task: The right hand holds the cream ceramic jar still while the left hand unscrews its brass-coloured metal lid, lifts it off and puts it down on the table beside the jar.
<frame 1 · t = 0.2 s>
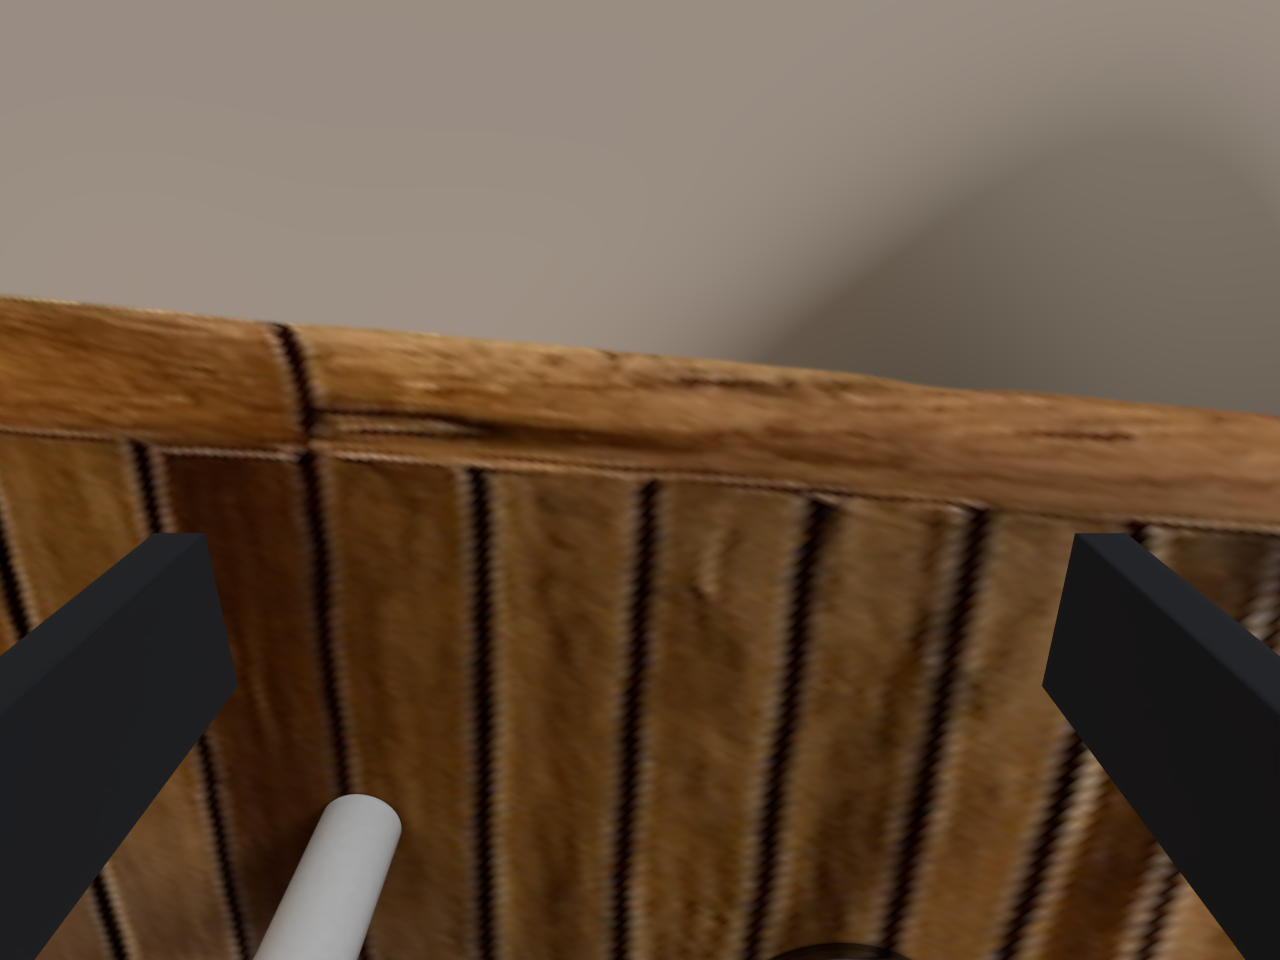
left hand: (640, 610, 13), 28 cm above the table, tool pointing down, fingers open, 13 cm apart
jar: (361, 824, 51), on the table
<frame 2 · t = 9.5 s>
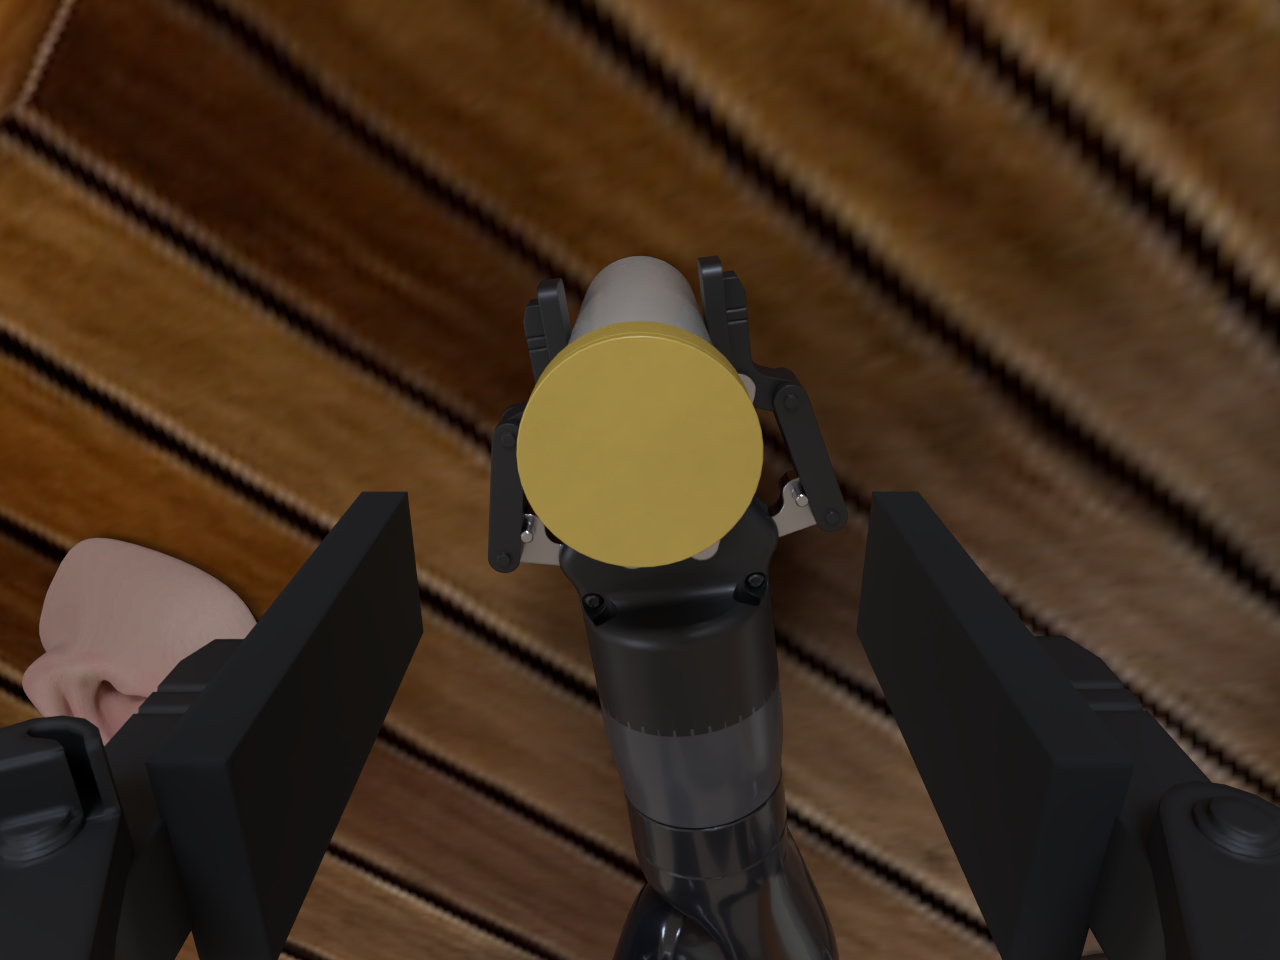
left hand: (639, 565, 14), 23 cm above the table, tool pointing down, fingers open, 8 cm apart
right hand: (628, 273, 28), fingers closed on jar, 5 cm apart
jar: (639, 314, 35), on the table, touching right hand
lid: (639, 453, 19), point 17 cm above the table, screwed on, not yet turned
anatomical model: (165, 658, 42), on the table
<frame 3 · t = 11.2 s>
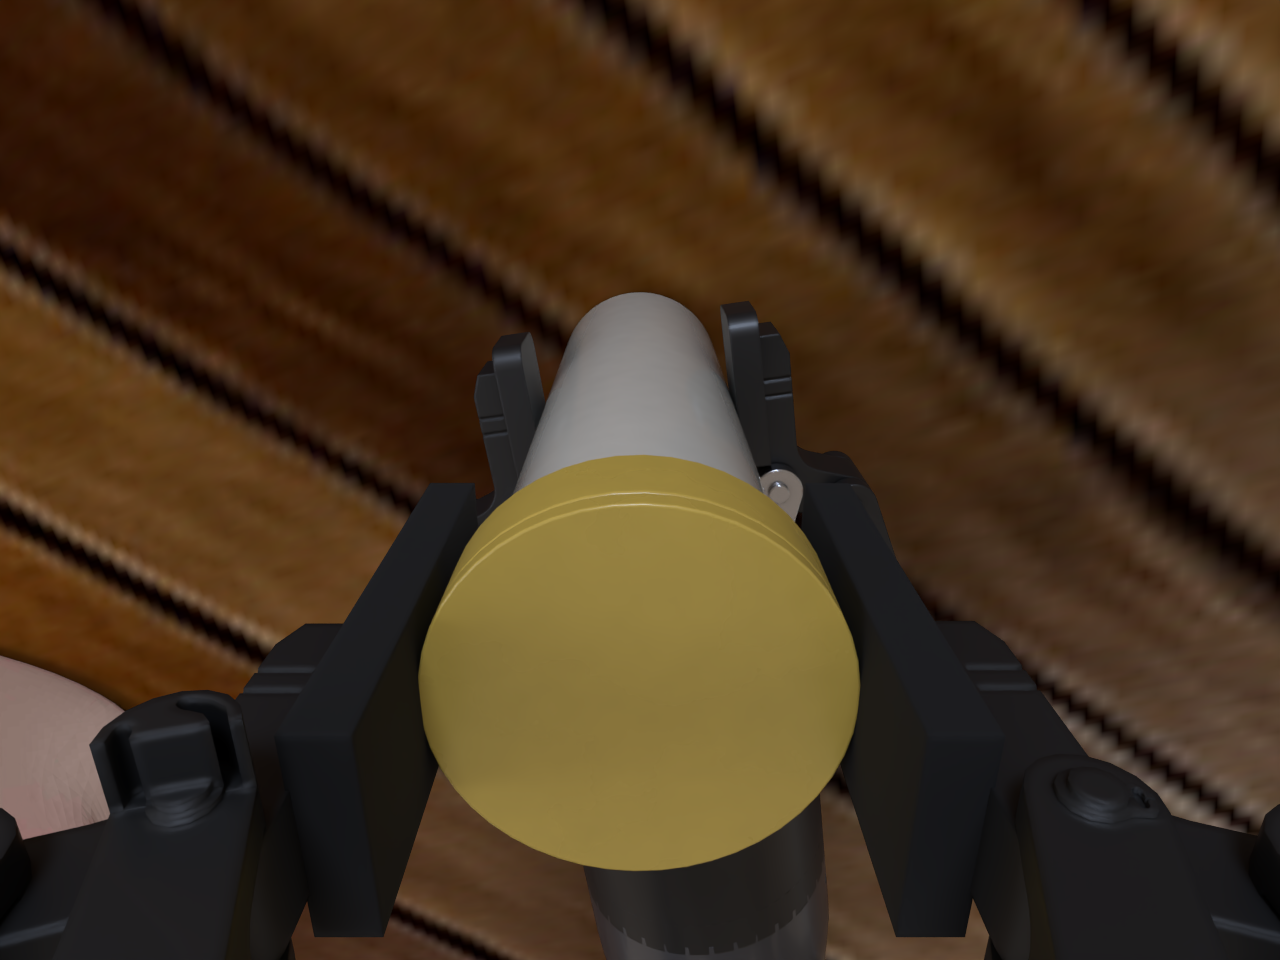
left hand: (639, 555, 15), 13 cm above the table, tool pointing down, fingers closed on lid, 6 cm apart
jar: (639, 368, 27), on the table, touching right hand
lid: (639, 689, 11), point 17 cm above the table, screwed on, not yet turned, touching left hand
anatomical model: (45, 788, 33), on the table
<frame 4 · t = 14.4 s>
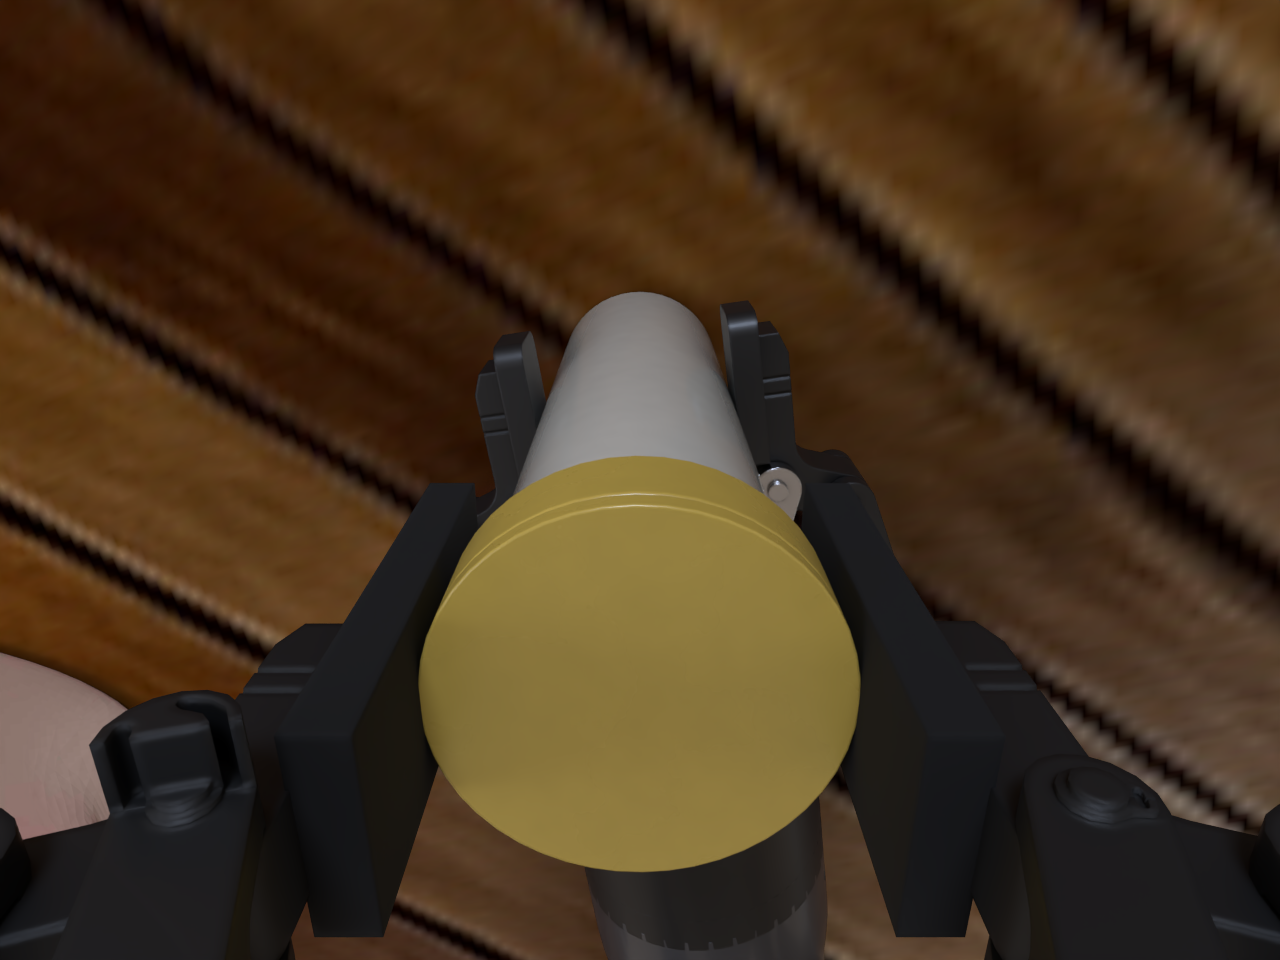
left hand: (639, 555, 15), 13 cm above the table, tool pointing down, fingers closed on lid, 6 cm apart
jar: (639, 367, 27), on the table, touching right hand
lid: (639, 690, 11), point 17 cm above the table, turned 92° so far, risen 0.2 cm, still on its thread, touching left hand
anatomical model: (47, 785, 33), on the table
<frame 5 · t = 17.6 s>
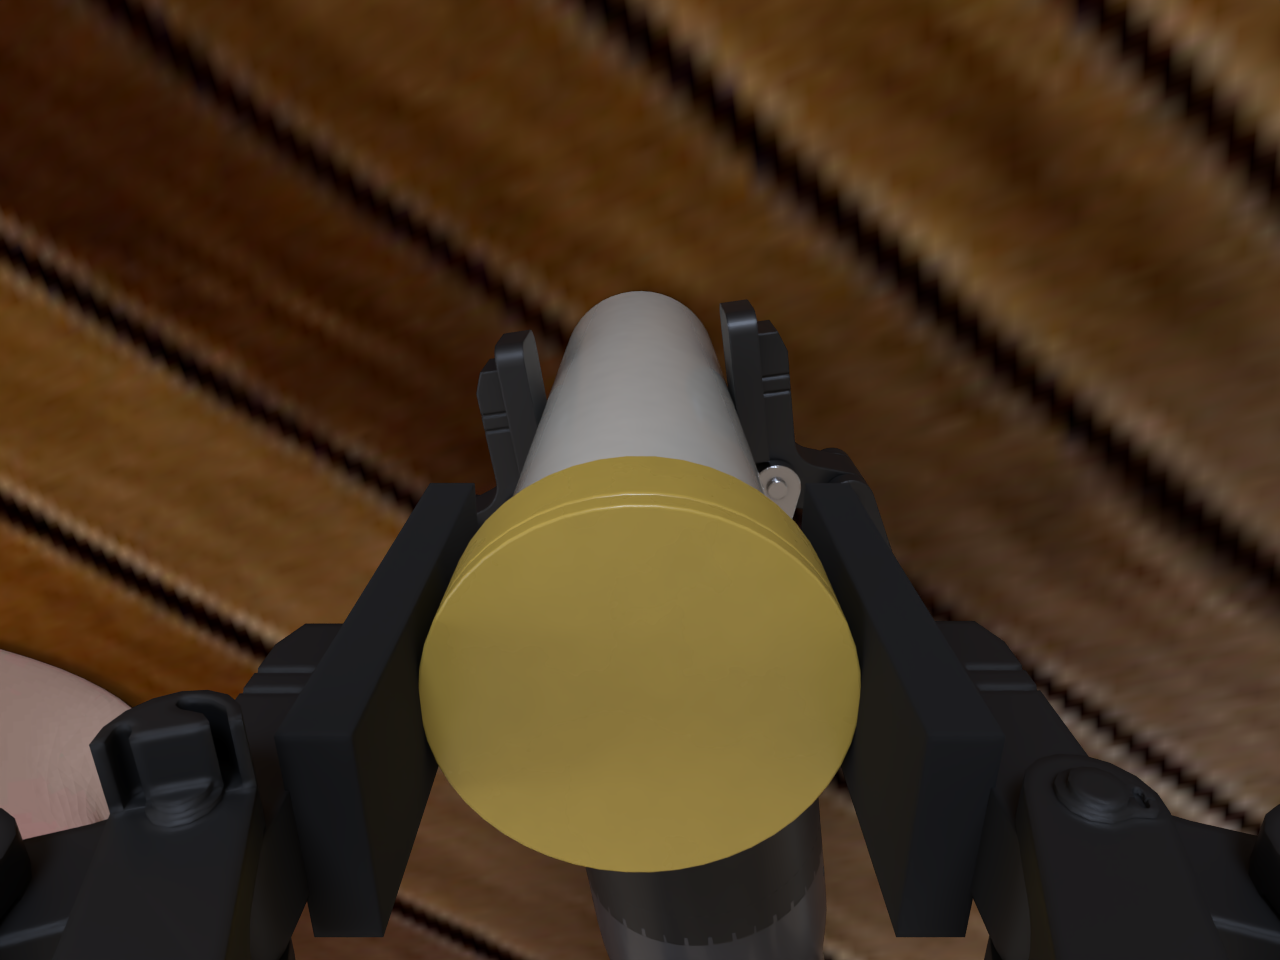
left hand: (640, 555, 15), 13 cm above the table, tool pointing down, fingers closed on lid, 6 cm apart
jar: (639, 366, 27), on the table, touching right hand
lid: (639, 691, 11), point 17 cm above the table, turned 185° so far, risen 0.3 cm, still on its thread, touching left hand
anatomical model: (49, 783, 33), on the table
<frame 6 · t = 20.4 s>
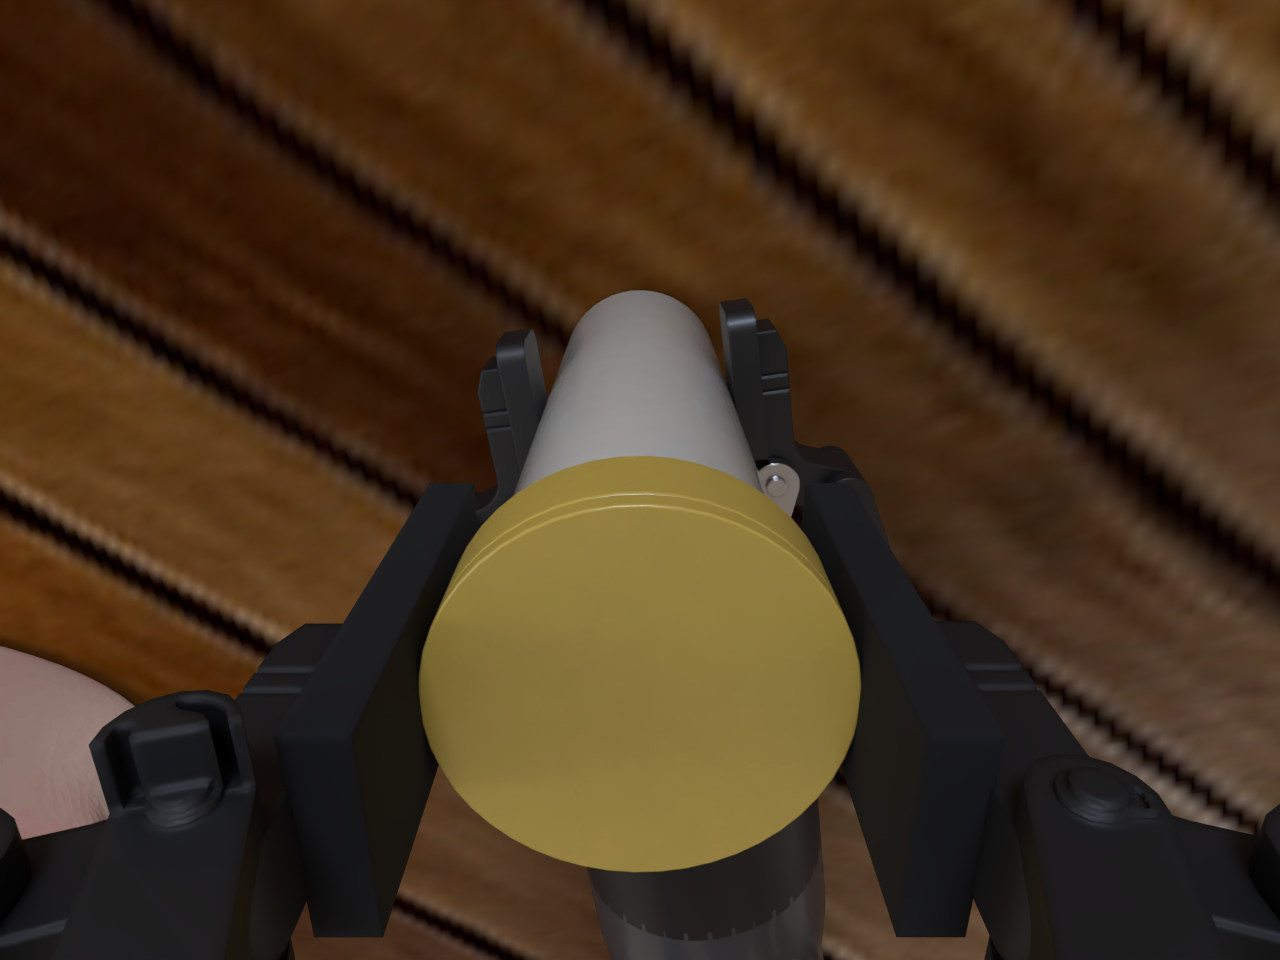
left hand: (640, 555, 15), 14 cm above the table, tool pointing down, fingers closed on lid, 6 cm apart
jar: (640, 365, 27), on the table, touching right hand
lid: (639, 690, 11), point 18 cm above the table, turned 277° so far, risen 0.5 cm, still on its thread, touching left hand
anatomical model: (52, 780, 34), on the table
when the left hand's fingers open (0 cm above the table, at t = 27.7 s): lid drops 3 cm, point 1 cm above the table.
when the right hand's fingers open (6 cm above the table, at t = 28.3 s): jar stays where it is, on the table.
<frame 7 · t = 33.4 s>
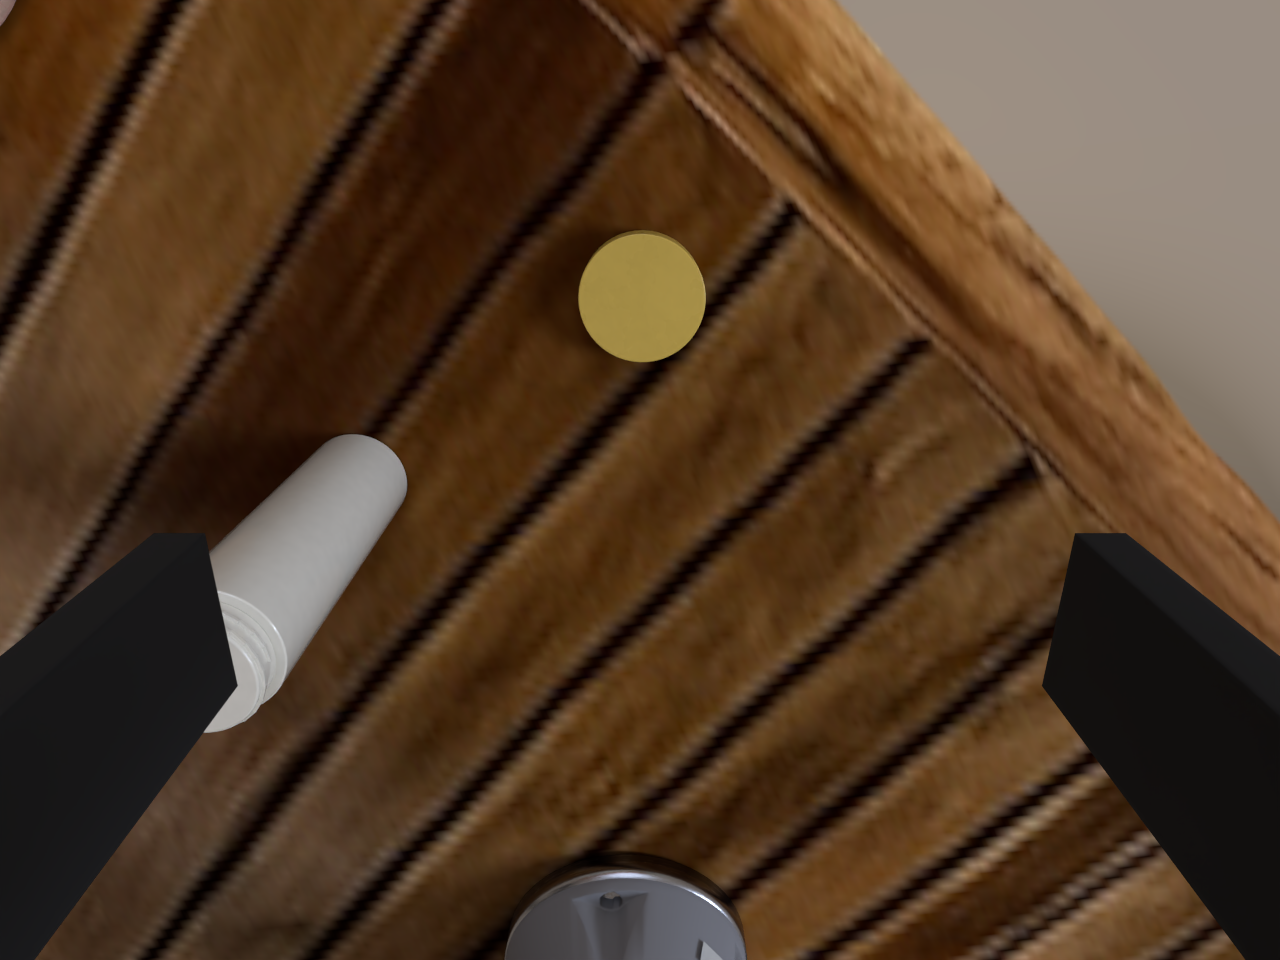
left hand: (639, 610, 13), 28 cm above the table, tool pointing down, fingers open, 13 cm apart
jar: (359, 479, 42), on the table
lid: (641, 298, 37), point 1 cm above the table, off its thread
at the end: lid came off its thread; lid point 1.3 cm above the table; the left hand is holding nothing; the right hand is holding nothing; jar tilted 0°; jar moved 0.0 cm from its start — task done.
